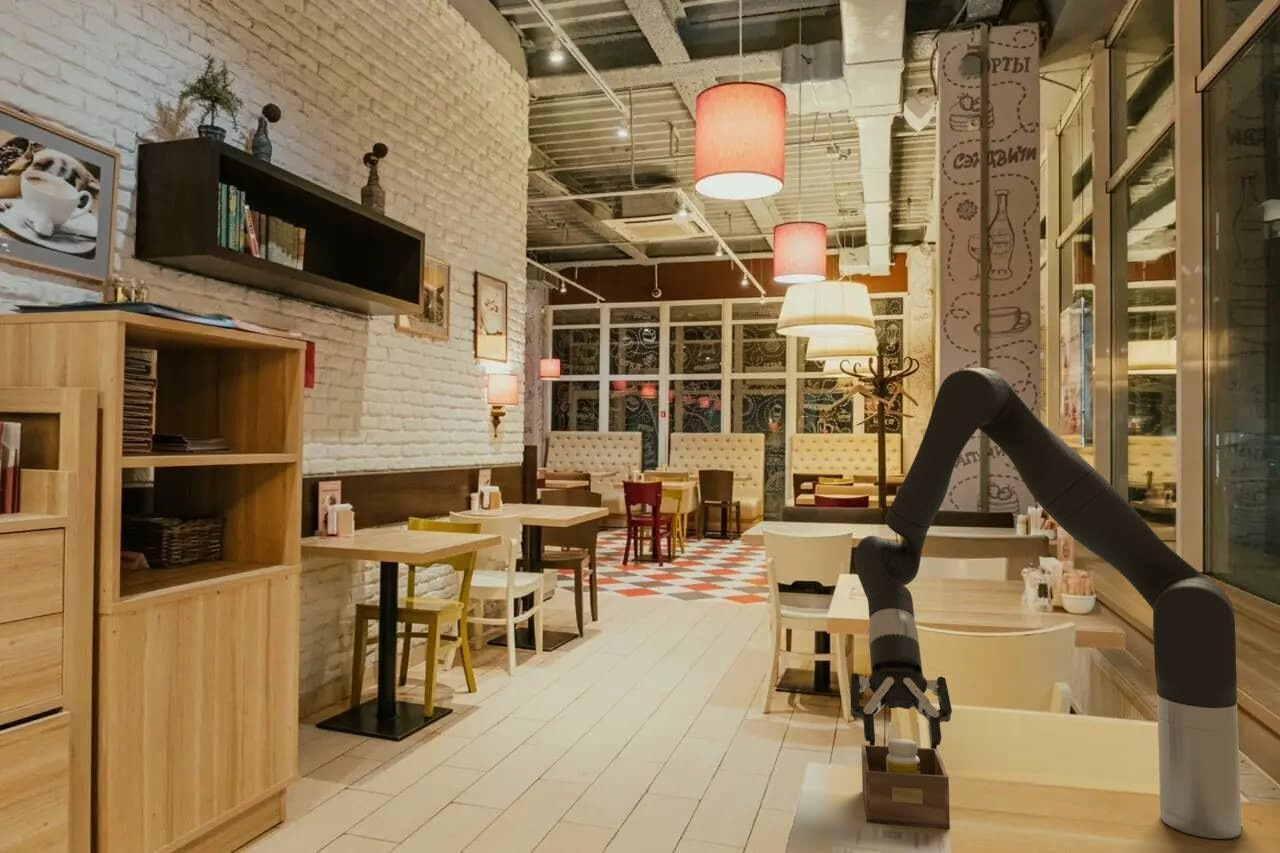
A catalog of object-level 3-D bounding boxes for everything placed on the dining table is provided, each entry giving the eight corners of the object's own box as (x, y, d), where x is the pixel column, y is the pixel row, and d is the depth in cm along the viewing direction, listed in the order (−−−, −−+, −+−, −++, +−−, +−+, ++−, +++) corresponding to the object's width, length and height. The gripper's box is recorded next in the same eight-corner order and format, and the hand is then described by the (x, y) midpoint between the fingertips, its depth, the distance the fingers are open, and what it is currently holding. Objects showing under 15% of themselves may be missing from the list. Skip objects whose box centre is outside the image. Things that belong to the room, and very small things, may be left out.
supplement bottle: (925, 808, 120) (923, 746, 121) (892, 807, 120) (890, 746, 121) (915, 797, 125) (913, 738, 126) (883, 796, 125) (881, 737, 126)
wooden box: (862, 790, 129) (861, 744, 129) (938, 795, 126) (937, 748, 127) (866, 823, 118) (865, 772, 118) (949, 829, 116) (948, 777, 116)
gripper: (847, 630, 131) (852, 729, 120) (944, 633, 129) (958, 735, 117) (847, 656, 137) (851, 753, 125) (939, 659, 134) (953, 759, 122)
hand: (903, 744), depth 121 cm, fingers open, 8 cm apart
